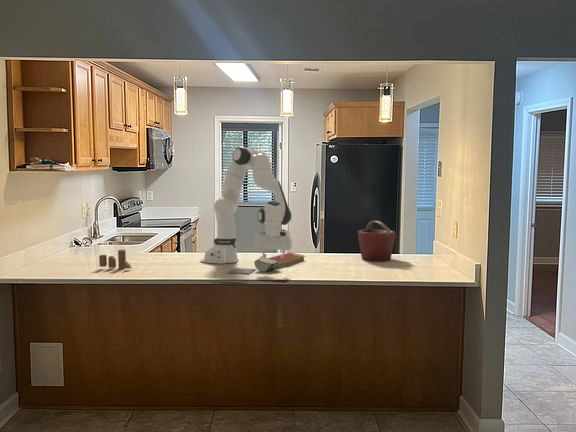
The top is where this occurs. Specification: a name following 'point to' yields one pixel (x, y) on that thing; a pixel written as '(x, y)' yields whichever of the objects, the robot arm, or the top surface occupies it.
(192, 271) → the top surface
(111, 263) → the wooden block set
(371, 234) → the bucket
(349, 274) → the top surface
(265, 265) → the food container
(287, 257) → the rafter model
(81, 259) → the top surface
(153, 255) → the top surface
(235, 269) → the mat
